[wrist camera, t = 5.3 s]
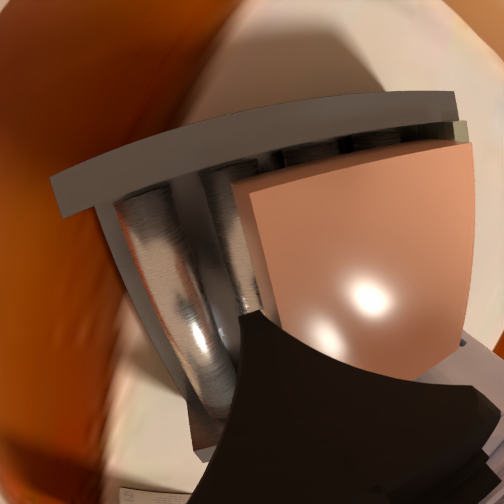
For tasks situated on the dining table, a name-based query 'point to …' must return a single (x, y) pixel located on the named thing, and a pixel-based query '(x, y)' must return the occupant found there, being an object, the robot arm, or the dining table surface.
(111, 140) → the dining table surface
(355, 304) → the slab
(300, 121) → the roller bed
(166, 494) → the light bulb box
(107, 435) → the dining table surface
